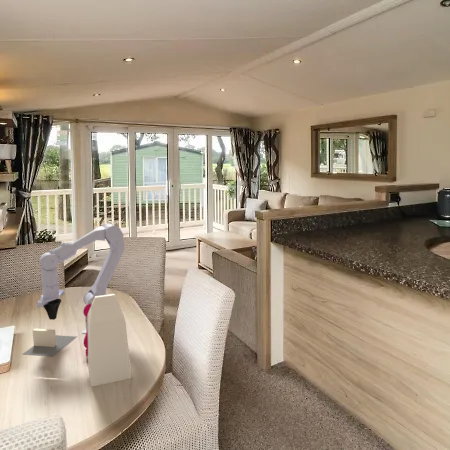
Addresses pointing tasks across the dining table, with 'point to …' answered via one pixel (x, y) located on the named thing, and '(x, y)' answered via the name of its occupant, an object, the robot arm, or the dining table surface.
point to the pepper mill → (85, 311)
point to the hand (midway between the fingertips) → (52, 318)
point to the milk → (107, 342)
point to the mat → (49, 351)
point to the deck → (44, 337)
